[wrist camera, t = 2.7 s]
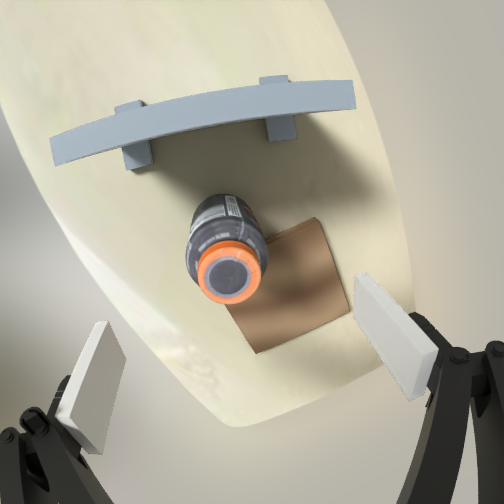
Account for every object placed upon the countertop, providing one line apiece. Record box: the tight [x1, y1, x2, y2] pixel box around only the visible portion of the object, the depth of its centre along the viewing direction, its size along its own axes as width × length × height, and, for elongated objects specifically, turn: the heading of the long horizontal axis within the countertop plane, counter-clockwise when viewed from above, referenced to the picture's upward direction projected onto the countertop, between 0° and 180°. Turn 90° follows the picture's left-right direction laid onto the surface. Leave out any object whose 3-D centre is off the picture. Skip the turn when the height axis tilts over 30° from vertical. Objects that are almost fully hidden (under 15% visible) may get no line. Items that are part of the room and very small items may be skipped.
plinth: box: [225, 217, 350, 354], centre depth 32 cm, size 12×12×1 cm
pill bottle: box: [186, 194, 269, 304], centre depth 24 cm, size 6×6×11 cm
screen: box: [49, 75, 356, 171], centre depth 19 cm, size 16×6×13 cm, turn 98°
